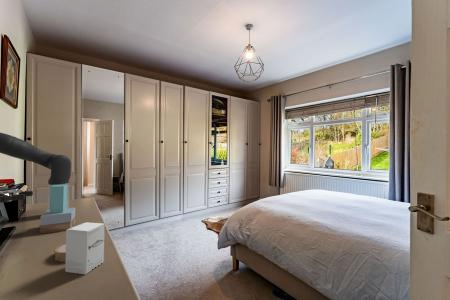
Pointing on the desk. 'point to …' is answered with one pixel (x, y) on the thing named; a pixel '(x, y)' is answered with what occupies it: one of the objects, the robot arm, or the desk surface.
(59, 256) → the alarm clock
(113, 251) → the desk surface
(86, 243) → the supplement box
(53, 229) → the block
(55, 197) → the teal block
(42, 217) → the tower top
